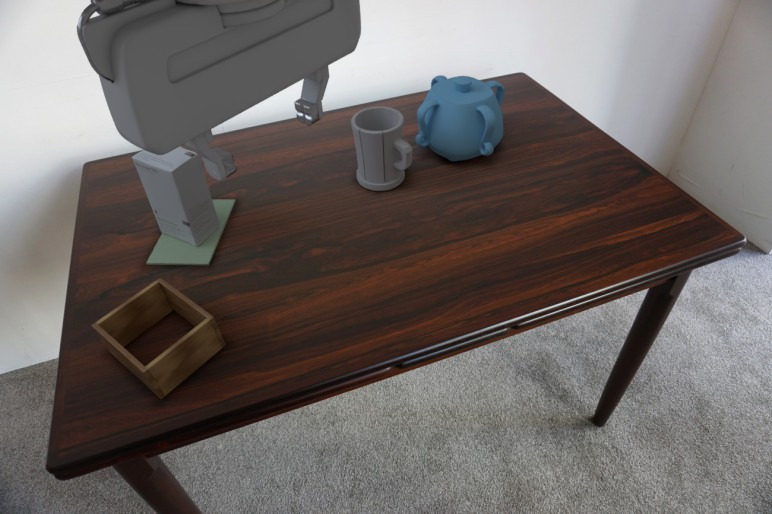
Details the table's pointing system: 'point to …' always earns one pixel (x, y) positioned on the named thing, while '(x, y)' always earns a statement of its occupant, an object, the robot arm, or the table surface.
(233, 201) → the mat
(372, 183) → the cup
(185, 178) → the cosmetic box
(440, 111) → the decorative pot
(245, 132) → the table surface
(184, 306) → the wooden box
